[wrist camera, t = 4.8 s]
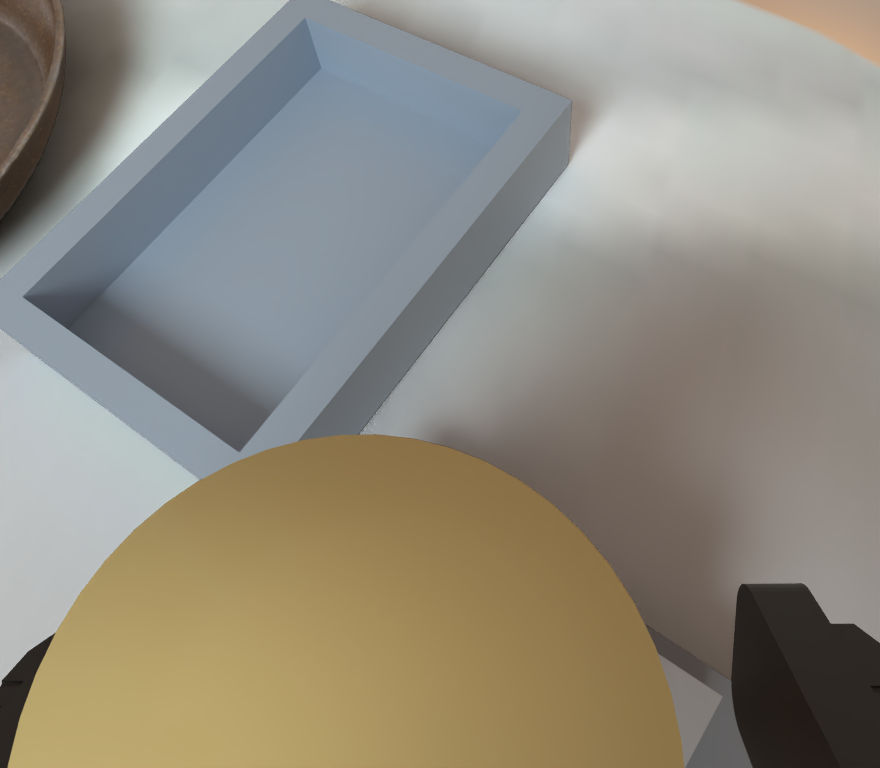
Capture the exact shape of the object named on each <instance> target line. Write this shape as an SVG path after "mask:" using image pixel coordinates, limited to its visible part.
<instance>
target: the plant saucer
mask: <svg viewBox="0 0 880 768" xmlns="http://www.w3.org/2000/svg"><path fill="white" fill-rule="evenodd" d="M65 60H66V36H65V23H64V14H63V7H62V3H61V0H0V221H1V219H2V218H3V217H4V216H5V214H6V213H7V212H8V211H9V209H10V208H11V207H12V205H13V204H14V202H15V201H16V199H17V198H18V196H19V195H20V193H21V192H22V190H23V188H24V187H25V185H26V183H27V181H28V180H29V178H30V176H31V175H32V173H33V171H34V169H35V167H36V165H37V163H38V161H39V160H40V158H41V156H42V154H43V151H44V149H45V147H46V144H47V142H48V139H49V137H50V134H51V132H52V129H53V126H54V123H55V119H56V116H57V112H58V108H59V104H60V100H61V94H62V89H63V83H64V75H65Z"/></svg>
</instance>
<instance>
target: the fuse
mask: <svg viewBox="0 0 880 768" xmlns="http://www.w3.org/2000/svg"><path fill="white" fill-rule="evenodd" d="M8 768H684V760H683V749H682V741H681V736H680V731H679V727H678V722H677V718H676V713H675V708H674V704H673V699H672V695H671V691H670V688H669V685H668V682H667V679H666V676H665V673H664V670H663V667H662V665H661V662H660V659H659V656H658V653H657V650H656V647H655V645H654V642H653V640H652V638H651V636H650V634H649V632H648V630H647V628H646V626H645V624H644V622H643V620H642V618H641V616H640V614H639V612H638V609H637V607H636V605H635V603H634V602H633V600H632V598H631V597H630V595H629V594H628V592H627V591H626V589H625V588H624V586H623V585H622V583H621V581H620V580H619V578H618V577H617V575H616V574H615V572H614V571H613V569H612V567H611V566H610V564H609V563H608V562H607V561H606V560H605V558H604V557H603V556H602V555H601V554H600V552H599V551H598V550H597V549H596V548H595V546H594V545H593V544H592V543H591V542H590V540H589V539H588V538H587V537H586V536H585V535H584V533H583V532H582V531H581V530H580V529H579V528H578V527H577V526H576V525H574V524H573V523H572V522H571V521H570V520H569V519H568V518H567V517H566V516H565V515H564V514H563V513H562V512H561V511H559V510H558V509H557V508H556V507H555V506H554V505H553V504H552V503H551V502H549V501H548V500H546V499H545V498H544V497H542V496H541V495H540V494H538V493H537V492H535V491H534V490H533V489H531V488H530V487H528V486H527V485H526V484H524V483H523V482H522V481H520V480H519V479H517V478H515V477H513V476H511V475H509V474H508V473H506V472H504V471H502V470H500V469H498V468H496V467H495V466H493V465H491V464H489V463H487V462H485V461H483V460H480V459H478V458H475V457H473V456H470V455H467V454H465V453H462V452H460V451H457V450H455V449H452V448H449V447H445V446H441V445H437V444H433V443H429V442H425V441H421V440H417V439H412V438H403V437H394V436H385V435H336V436H329V437H321V438H314V439H306V440H301V441H297V442H294V443H290V444H286V445H282V446H278V447H274V448H271V449H267V450H264V451H262V452H259V453H257V454H254V455H252V456H249V457H247V458H244V459H241V460H239V461H236V462H234V463H231V464H230V465H228V466H226V467H224V468H222V469H220V470H218V471H216V472H214V473H213V474H211V475H209V476H207V477H205V478H203V479H201V480H199V481H198V482H196V483H195V484H193V485H192V486H190V487H189V488H187V489H186V490H184V491H183V492H181V493H180V494H179V495H177V496H176V497H174V498H173V499H171V500H170V501H168V502H167V503H165V504H164V505H163V506H162V507H161V508H159V509H158V510H157V511H156V512H155V513H154V514H152V515H151V516H150V517H149V518H148V519H147V520H145V521H144V522H143V523H142V524H141V525H140V526H138V527H137V528H136V529H135V530H134V531H133V532H132V533H131V534H130V535H129V536H128V537H127V538H126V539H125V540H124V541H123V542H122V543H121V545H120V546H119V547H118V548H117V549H116V550H115V551H114V552H113V553H112V554H111V555H110V556H109V557H108V558H107V559H106V560H105V562H104V563H103V564H102V566H101V567H100V568H99V570H98V571H97V572H96V573H95V575H94V576H93V577H92V579H91V580H90V581H89V583H88V584H87V585H86V586H85V588H84V589H83V590H82V592H81V593H80V594H79V596H78V597H77V599H76V601H75V602H74V604H73V606H72V607H71V609H70V610H69V612H68V614H67V615H66V617H65V619H64V620H63V622H62V623H61V625H60V627H59V628H58V630H57V631H56V633H55V635H54V638H53V640H52V642H51V644H50V646H49V648H48V650H47V652H46V654H45V656H44V658H43V660H42V662H41V664H40V666H39V668H38V670H37V673H36V675H35V678H34V681H33V683H32V686H31V689H30V691H29V694H28V697H27V700H26V702H25V705H24V708H23V711H22V713H21V716H20V719H19V723H18V727H17V731H16V735H15V739H14V743H13V747H12V751H11V755H10V759H9V763H8Z"/></svg>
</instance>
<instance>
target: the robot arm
mask: <svg viewBox="0 0 880 768" xmlns="http://www.w3.org/2000/svg"><path fill="white" fill-rule="evenodd" d="M54 635H55V633H54V634H53V635H52V636H50V637H49V638H47V639H46V640H44V641H43V642H41V643H40V644H38V645H37V646H36V647H34V648H33V649H31V650H30V651H28V652H27V653H26V655H25V656H24V657H23V658H22V659H21V660H20V661H19V662H18V663H17V665H16V666H15V667H14V668H13V669H12V670H11V671H10V672H9V673H8V675H7V676H6V677H5V678H4V679H3V680H2V685H1V687H0V768H8V763H9V759H10V755H11V751H12V747H13V743H14V739H15V735H16V731H17V727H18V723H19V719H20V716H21V713H22V711H23V708H24V705H25V702H26V700H27V697H28V694H29V691H30V689H31V686H32V683H33V681H34V678H35V675H36V673H37V670H38V668H39V666H40V664H41V662H42V660H43V658H44V656H45V654H46V652H47V650H48V648H49V646H50V644H51V642H52V640H53V638H54ZM731 689H732V700H733V707H734V713H735V718H736V722H737V726H738V729H739V732H740V735H741V738H742V740H743V743H744V746H745V748H746V751H747V754H748V756H749V759H750V762H751V764H752V767H753V768H880V643H879V642H877V641H876V640H875V639H873V638H872V637H871V636H869V635H868V634H867V633H865V632H864V631H863V630H861V629H860V628H859V627H857V626H856V625H855V624H830V622H829V620H828V619H827V617H826V616H825V614H824V612H823V611H822V609H821V608H820V606H819V605H818V603H817V601H816V600H815V598H814V597H813V595H812V594H811V592H810V590H809V589H808V588H807V587H806V586H805V585H804V584H802V583H795V584H742V585H741V586H740V588H739V590H738V595H737V604H736V619H735V633H734V648H733V662H732V677H731Z"/></svg>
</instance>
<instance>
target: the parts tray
mask: <svg viewBox="0 0 880 768" xmlns="http://www.w3.org/2000/svg"><path fill="white" fill-rule="evenodd" d="M571 111H572V100H570V99H568V98H565V97H563V96H561V95H558V94H556V93H553V92H551V91H548V90H546V89H544V88H541V87H539V86H536V85H534V84H531V83H529V82H527V81H524V80H522V79H519V78H517V77H514V76H512V75H510V74H507V73H505V72H502V71H500V70H497V69H495V68H493V67H490V66H488V65H485V64H483V63H480V62H478V61H476V60H473V59H471V58H468V57H466V56H463V55H461V54H459V53H456V52H454V51H451V50H449V49H446V48H444V47H442V46H439V45H437V44H434V43H432V42H429V41H427V40H425V39H422V38H420V37H417V36H415V35H412V34H410V33H408V32H405V31H403V30H400V29H398V28H395V27H393V26H391V25H388V24H386V23H383V22H381V21H378V20H376V19H374V18H371V17H369V16H366V15H364V14H361V13H359V12H357V11H354V10H352V9H349V8H347V7H344V6H342V5H340V4H337V3H335V2H332V1H330V0H290V1H289V2H288V3H286V4H285V5H284V6H283V7H282V8H281V9H280V10H279V11H278V12H277V13H276V14H275V15H274V16H273V17H272V18H271V19H270V20H269V21H268V22H267V23H266V24H265V25H264V26H263V27H262V28H261V29H260V30H259V31H258V32H256V33H255V34H254V35H253V36H252V37H251V38H250V39H249V40H248V41H247V42H246V43H245V44H244V45H243V46H242V47H241V48H240V49H239V50H238V51H237V52H236V53H235V54H234V55H233V56H232V57H231V58H230V59H229V60H228V61H226V62H225V63H224V64H223V65H222V66H221V67H220V68H219V69H218V70H217V71H216V72H215V73H214V74H213V75H212V76H211V77H210V78H209V79H208V80H207V81H206V82H205V83H204V84H203V85H202V86H201V87H200V88H199V89H197V90H196V91H195V92H194V93H193V94H192V95H191V96H190V97H189V98H188V99H187V100H186V101H185V102H184V103H183V104H182V105H181V106H180V107H179V108H178V109H177V110H176V111H175V112H174V113H173V114H172V115H171V116H170V117H169V118H167V119H166V120H165V121H164V122H163V123H162V124H161V125H160V126H159V127H158V128H157V129H156V130H155V131H154V132H153V133H152V134H151V135H150V136H149V137H148V138H147V139H146V140H145V141H144V142H143V143H142V144H141V145H140V146H139V147H137V148H136V149H135V150H134V151H133V152H132V153H131V154H130V155H129V156H128V157H127V158H126V159H125V160H124V161H123V162H122V163H121V164H120V165H119V166H118V167H117V168H116V169H115V170H114V171H113V172H112V173H111V174H110V175H109V176H107V177H106V178H105V179H104V180H103V181H102V182H101V183H100V184H99V185H98V186H97V187H96V188H95V189H94V190H93V191H92V192H91V193H90V194H89V195H88V196H87V197H86V198H85V199H84V200H83V201H82V202H81V203H80V204H78V205H77V206H76V207H75V208H74V209H73V210H72V211H71V212H70V213H69V214H68V215H67V216H66V217H65V218H64V219H63V220H62V221H61V222H60V223H59V224H58V225H57V226H56V227H55V228H54V229H53V230H52V231H51V232H50V233H48V234H47V235H46V236H45V237H44V238H43V239H42V240H41V241H40V242H39V243H38V244H37V245H36V246H35V247H34V248H33V249H32V250H31V251H30V252H29V253H28V254H27V255H26V256H25V257H24V258H23V259H22V260H21V261H20V262H18V263H17V264H16V265H15V266H14V267H13V268H12V269H11V270H10V271H9V272H8V273H7V274H6V275H5V276H4V277H3V278H2V279H1V280H0V329H1V330H3V331H4V332H5V333H7V334H8V335H9V336H11V337H12V338H13V339H14V340H16V341H17V342H18V343H20V344H21V345H22V346H24V347H25V348H26V349H28V350H29V351H30V352H32V353H33V354H34V355H36V356H37V357H38V358H40V359H41V360H42V361H44V362H45V363H46V364H48V365H49V366H50V367H51V368H53V369H54V370H55V371H57V372H58V373H59V374H61V375H62V376H63V377H65V378H66V379H67V380H69V381H70V382H71V383H73V384H74V385H75V386H77V387H78V388H79V389H81V390H82V391H83V392H85V393H86V394H87V395H89V396H90V397H91V398H93V399H94V400H95V401H97V402H98V403H99V404H101V405H102V406H103V407H105V408H106V409H107V410H109V411H110V412H111V413H113V414H114V415H115V416H117V417H118V418H119V419H121V420H122V421H123V422H125V423H126V424H127V425H128V426H130V427H131V428H132V429H134V430H135V431H136V432H138V433H139V434H140V435H142V436H143V437H144V438H146V439H147V440H148V441H150V442H151V443H152V444H154V445H155V446H156V447H158V448H159V449H160V450H162V451H163V452H164V453H166V454H167V455H168V456H170V457H171V458H172V459H174V460H175V461H176V462H178V463H179V464H180V465H182V466H183V467H184V468H186V469H187V470H188V471H190V472H191V473H192V474H194V475H195V476H196V477H198V478H199V479H200V480H201V479H203V478H205V477H207V476H209V475H211V474H213V473H214V472H216V471H218V470H220V469H222V468H224V467H226V466H228V465H230V464H231V463H234V462H236V461H239V460H241V459H244V458H247V457H249V456H252V455H254V454H257V453H259V452H262V451H264V450H267V449H271V448H274V447H278V446H282V445H286V444H290V443H294V442H297V441H301V440H306V439H314V438H321V437H329V436H336V435H358V434H359V433H360V432H361V430H362V429H363V428H364V426H365V425H366V424H367V423H368V421H369V420H370V419H371V417H372V416H373V415H374V414H375V412H376V411H377V410H378V408H379V407H380V406H381V405H382V403H383V402H384V401H385V399H386V398H387V397H388V396H389V394H390V393H391V392H392V390H393V389H394V388H395V387H396V385H397V384H398V383H399V381H400V380H401V379H402V378H403V376H404V375H405V374H406V372H407V371H408V370H409V369H410V367H411V366H412V365H413V363H414V362H415V361H416V360H417V358H418V357H419V356H420V354H421V353H422V352H423V350H424V349H425V348H426V347H427V345H428V344H429V343H430V341H431V340H432V339H433V338H434V336H435V335H436V334H437V332H438V331H439V330H440V329H441V327H442V326H443V325H444V323H445V322H446V321H447V320H448V318H449V317H450V316H451V314H452V313H453V312H454V311H455V309H456V308H457V307H458V305H459V304H460V303H461V302H462V300H463V299H464V298H465V296H466V295H467V294H468V293H469V291H470V290H471V289H472V287H473V286H474V285H475V284H476V282H477V281H478V280H479V278H480V277H481V276H482V275H483V273H484V272H485V271H486V269H487V268H488V267H489V266H490V264H491V263H492V262H493V260H494V259H495V258H496V257H497V255H498V254H499V253H500V251H501V250H502V249H503V248H504V246H505V245H506V244H507V242H508V241H509V240H510V239H511V237H512V236H513V235H514V233H515V232H516V231H517V230H518V228H519V227H520V226H521V224H522V223H523V222H524V221H525V219H526V218H527V217H528V215H529V214H530V213H531V212H532V210H533V209H534V208H535V206H536V205H537V204H538V203H539V201H540V200H541V199H542V197H543V196H544V195H545V194H546V192H547V191H548V190H549V188H550V187H551V186H552V185H553V183H554V182H555V181H556V179H557V178H558V177H559V176H560V174H561V173H562V172H563V170H564V169H565V168H566V167H567V165H568V161H569V144H570V128H571Z"/></svg>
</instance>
